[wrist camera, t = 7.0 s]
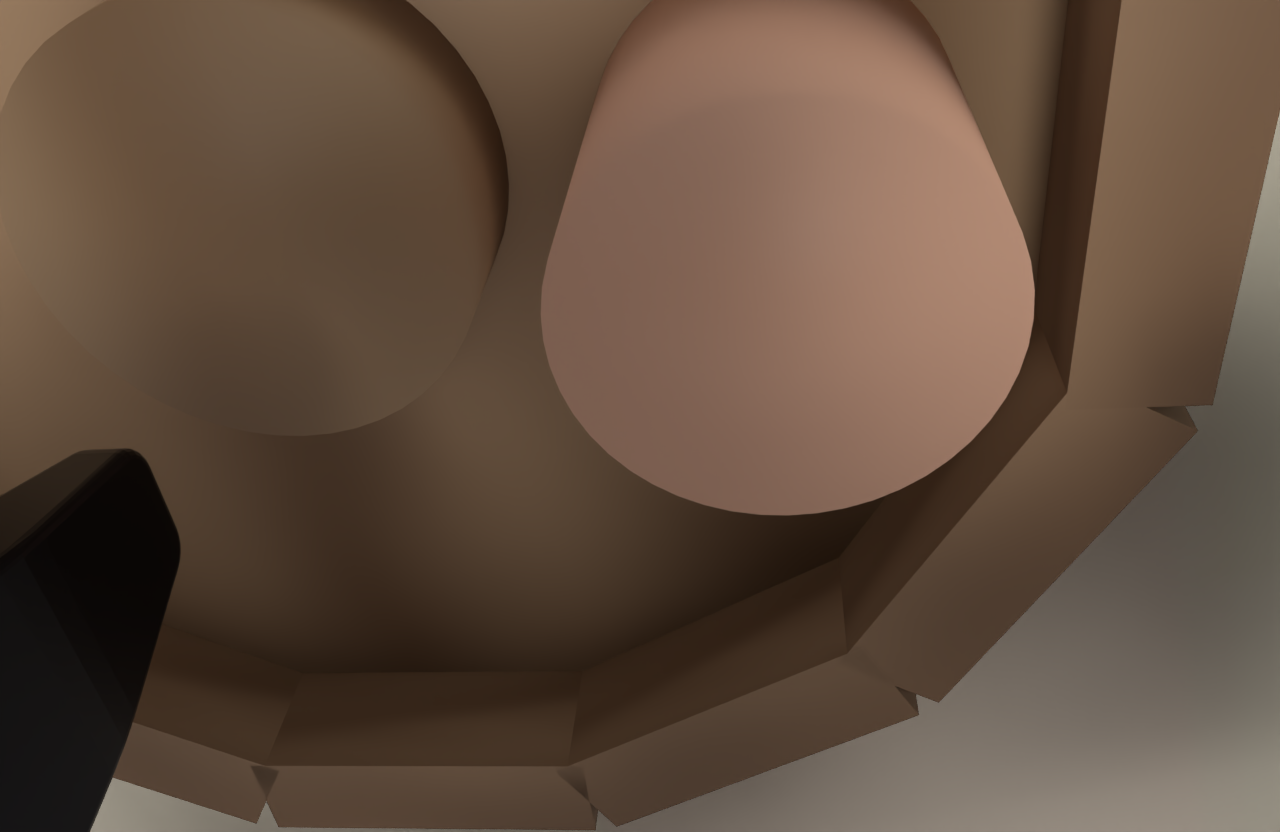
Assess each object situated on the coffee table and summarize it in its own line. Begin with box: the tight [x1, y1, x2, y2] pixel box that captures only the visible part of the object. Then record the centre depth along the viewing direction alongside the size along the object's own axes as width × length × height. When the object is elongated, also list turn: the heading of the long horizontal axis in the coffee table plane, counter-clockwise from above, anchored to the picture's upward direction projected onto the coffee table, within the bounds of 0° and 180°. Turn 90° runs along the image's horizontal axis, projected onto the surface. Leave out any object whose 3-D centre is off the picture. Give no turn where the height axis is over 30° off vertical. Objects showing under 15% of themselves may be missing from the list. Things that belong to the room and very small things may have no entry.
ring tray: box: [0, 0, 1280, 830], centre depth 13 cm, size 20×20×3 cm
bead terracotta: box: [541, 0, 1035, 515], centre depth 11 cm, size 4×4×4 cm
